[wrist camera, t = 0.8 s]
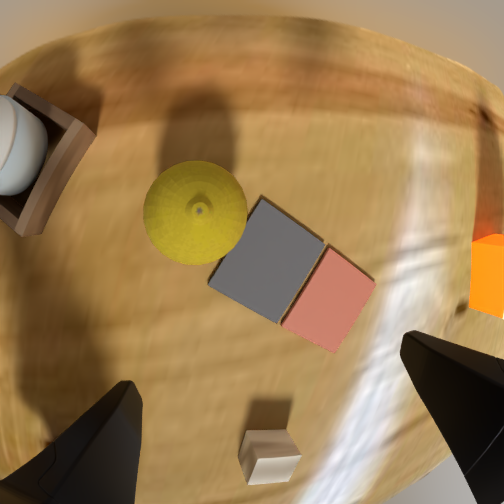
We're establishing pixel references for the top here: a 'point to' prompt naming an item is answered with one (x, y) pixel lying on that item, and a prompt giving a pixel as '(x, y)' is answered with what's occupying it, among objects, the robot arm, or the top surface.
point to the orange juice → (488, 275)
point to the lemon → (195, 212)
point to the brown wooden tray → (46, 166)
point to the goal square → (329, 302)
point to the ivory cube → (268, 456)
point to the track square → (267, 262)
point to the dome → (20, 147)
